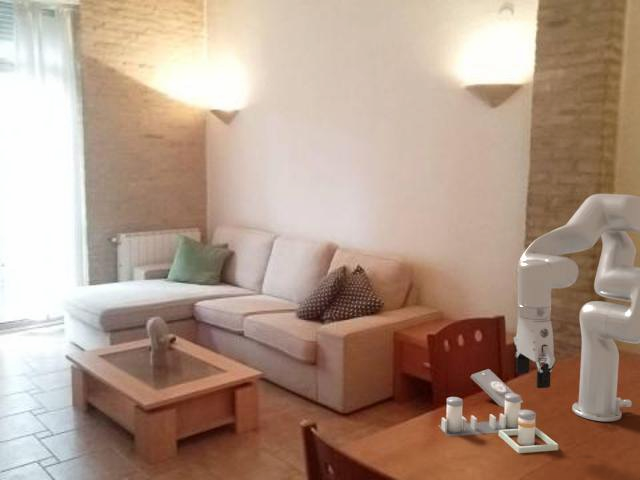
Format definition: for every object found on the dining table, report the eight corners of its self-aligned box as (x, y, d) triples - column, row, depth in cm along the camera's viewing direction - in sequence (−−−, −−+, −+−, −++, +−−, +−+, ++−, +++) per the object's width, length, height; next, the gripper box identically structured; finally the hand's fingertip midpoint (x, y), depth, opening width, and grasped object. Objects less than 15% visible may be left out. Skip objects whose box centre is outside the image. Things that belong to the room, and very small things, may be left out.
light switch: (509, 407, 176) (472, 372, 185) (500, 422, 178) (464, 386, 187) (526, 400, 181) (490, 366, 190) (517, 415, 184) (481, 380, 193)
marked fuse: (529, 439, 157) (530, 409, 156) (537, 446, 153) (538, 415, 152) (514, 441, 156) (515, 410, 156) (522, 448, 153) (523, 416, 152)
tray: (535, 436, 161) (536, 427, 160) (557, 454, 151) (558, 444, 150) (498, 439, 159) (498, 430, 158) (518, 457, 149) (518, 447, 148)
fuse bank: (515, 423, 169) (517, 390, 168) (528, 434, 162) (530, 400, 161) (437, 429, 165) (438, 395, 163) (447, 440, 158) (448, 405, 157)
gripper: (568, 319, 143) (566, 391, 146) (530, 302, 160) (528, 366, 162) (538, 322, 142) (536, 395, 144) (502, 304, 159) (501, 369, 161)
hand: (532, 380), depth 153 cm, fingers open, 9 cm apart
